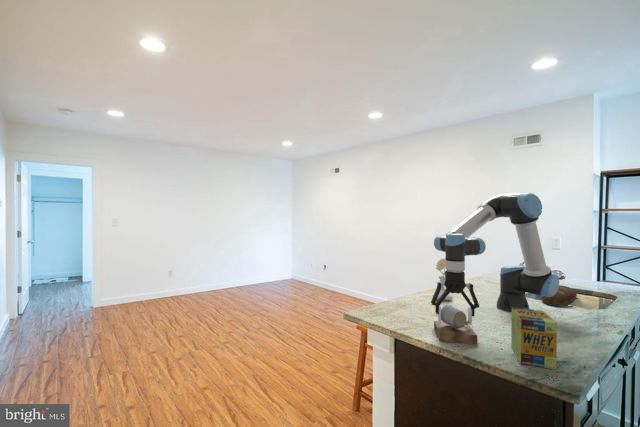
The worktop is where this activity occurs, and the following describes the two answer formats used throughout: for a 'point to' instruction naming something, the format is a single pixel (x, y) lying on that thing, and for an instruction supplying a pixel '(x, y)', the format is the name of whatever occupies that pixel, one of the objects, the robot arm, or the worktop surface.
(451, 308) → the ceramic mug
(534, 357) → the protein box
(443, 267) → the flower in vase
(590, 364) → the worktop surface
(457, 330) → the walnut stand
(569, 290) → the bread
